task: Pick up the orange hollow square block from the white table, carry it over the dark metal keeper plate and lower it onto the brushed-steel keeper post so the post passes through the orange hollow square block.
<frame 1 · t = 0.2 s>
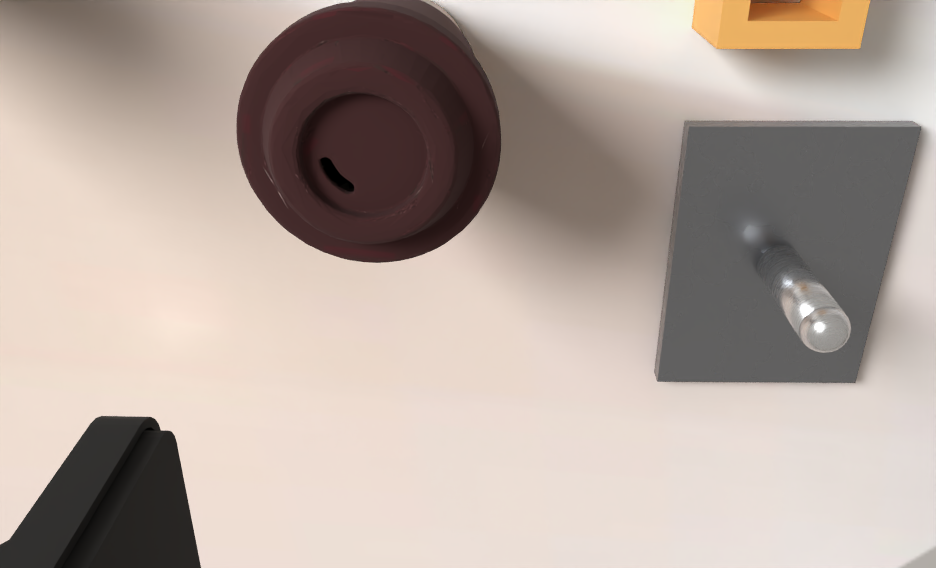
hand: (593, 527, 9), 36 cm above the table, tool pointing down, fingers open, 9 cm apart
coffee cup: (401, 63, 43), on the table
keeper: (772, 256, 47), on the table
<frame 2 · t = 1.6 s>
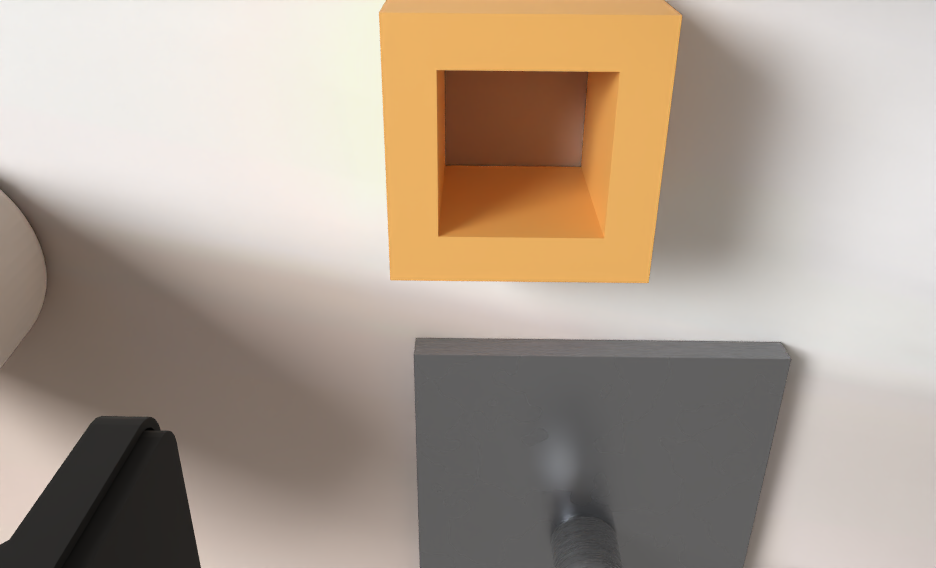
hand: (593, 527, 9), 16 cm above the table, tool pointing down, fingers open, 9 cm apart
orange hollow square block: (515, 99, 23), on the table
keeper: (580, 521, 31), on the table
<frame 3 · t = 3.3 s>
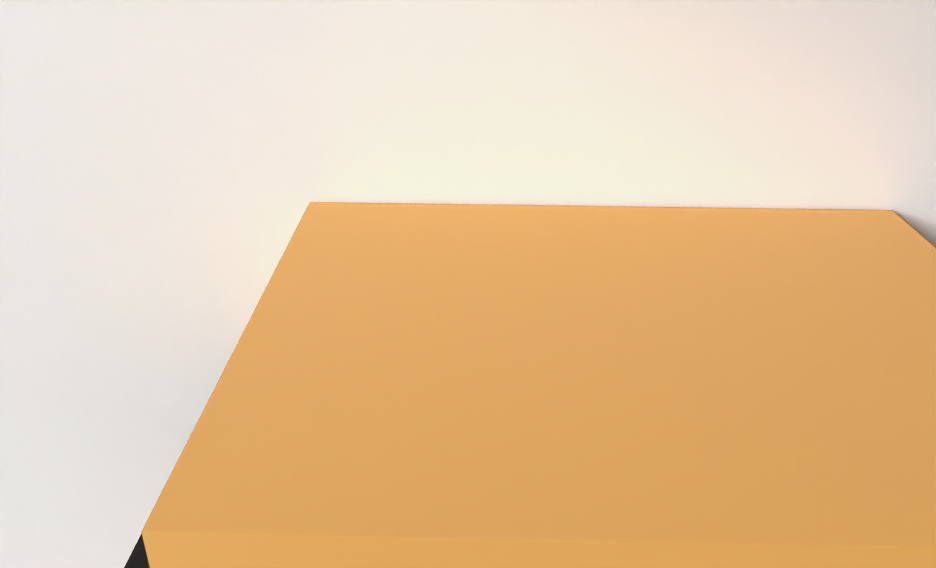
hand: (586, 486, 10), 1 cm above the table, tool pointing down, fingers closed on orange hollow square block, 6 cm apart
orange hollow square block: (579, 439, 11), on the table, touching gripper
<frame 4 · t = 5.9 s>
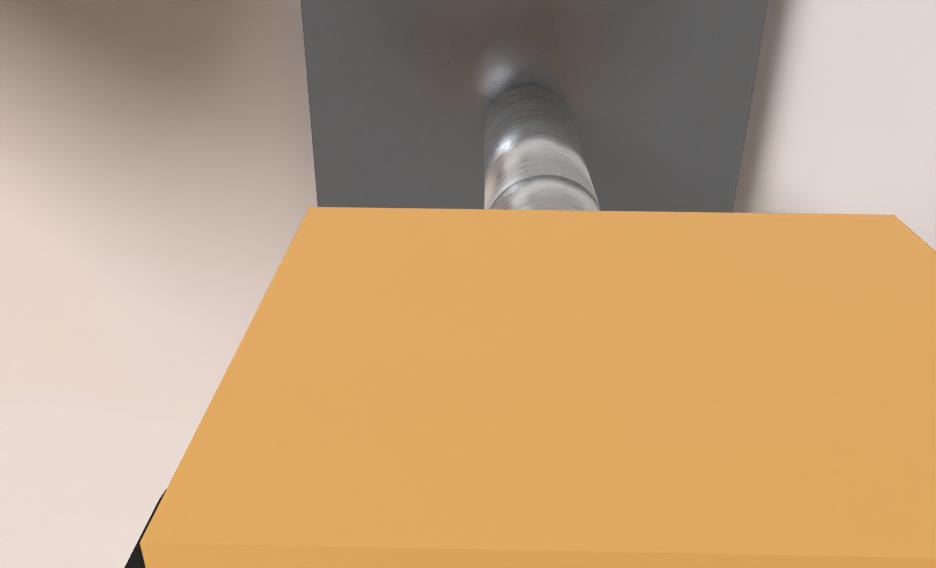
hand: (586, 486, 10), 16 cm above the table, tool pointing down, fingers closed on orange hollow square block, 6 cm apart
orange hollow square block: (579, 443, 10), point 15 cm above the table, touching gripper
keeper: (526, 118, 24), on the table
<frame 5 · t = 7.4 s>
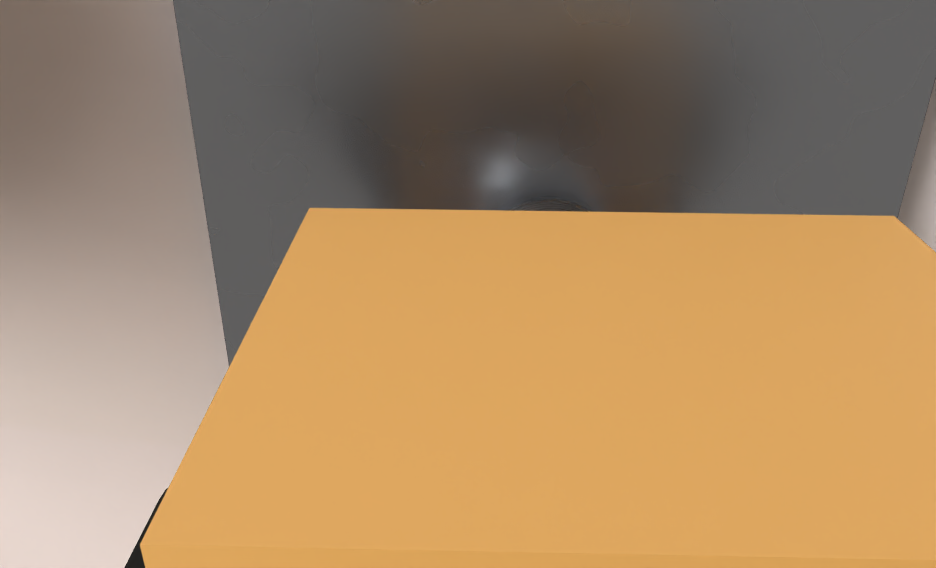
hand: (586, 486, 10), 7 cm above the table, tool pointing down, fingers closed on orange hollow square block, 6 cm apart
orange hollow square block: (579, 444, 10), point 6 cm above the table, touching gripper
keeper: (543, 238, 16), on the table
when the fingers open (4 cm above the table, at t = 8.4 s): orange hollow square block drops 2 cm, resting on keeper.
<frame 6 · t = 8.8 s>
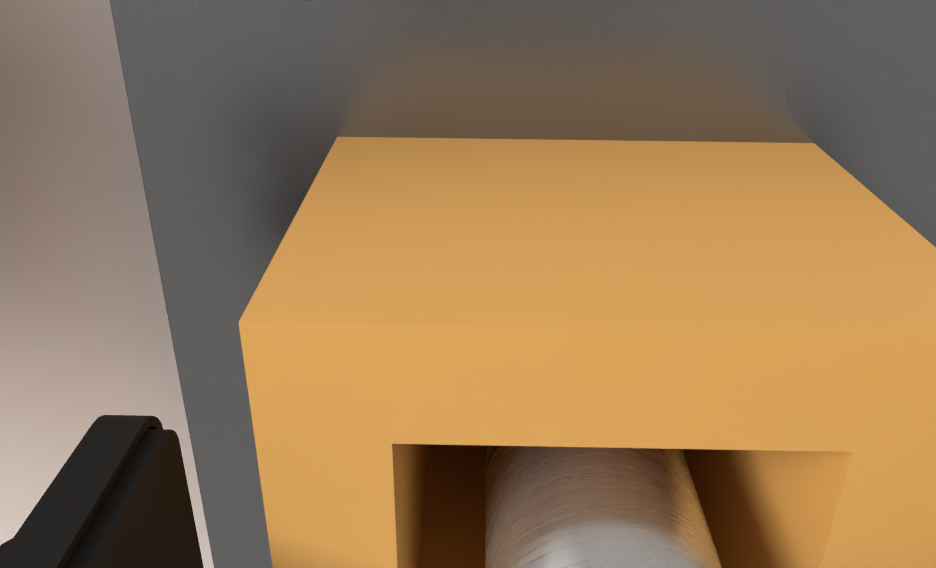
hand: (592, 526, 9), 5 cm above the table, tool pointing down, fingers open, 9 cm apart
orange hollow square block: (560, 343, 12), point 1 cm above the table, touching keeper
keeper: (558, 315, 13), on the table
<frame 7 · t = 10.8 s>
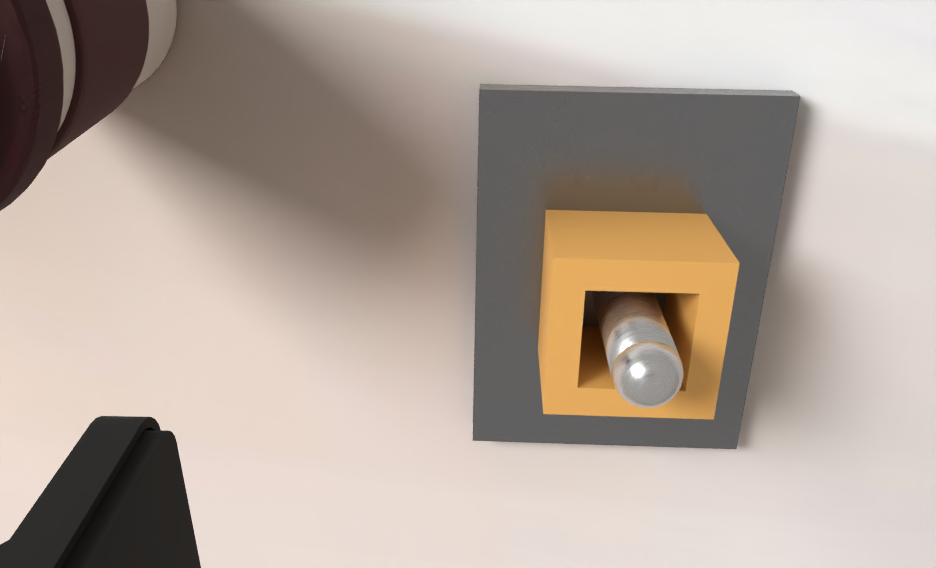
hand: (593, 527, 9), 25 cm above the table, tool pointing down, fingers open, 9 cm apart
orange hollow square block: (618, 284, 34), point 1 cm above the table, touching keeper
keeper: (616, 276, 35), on the table
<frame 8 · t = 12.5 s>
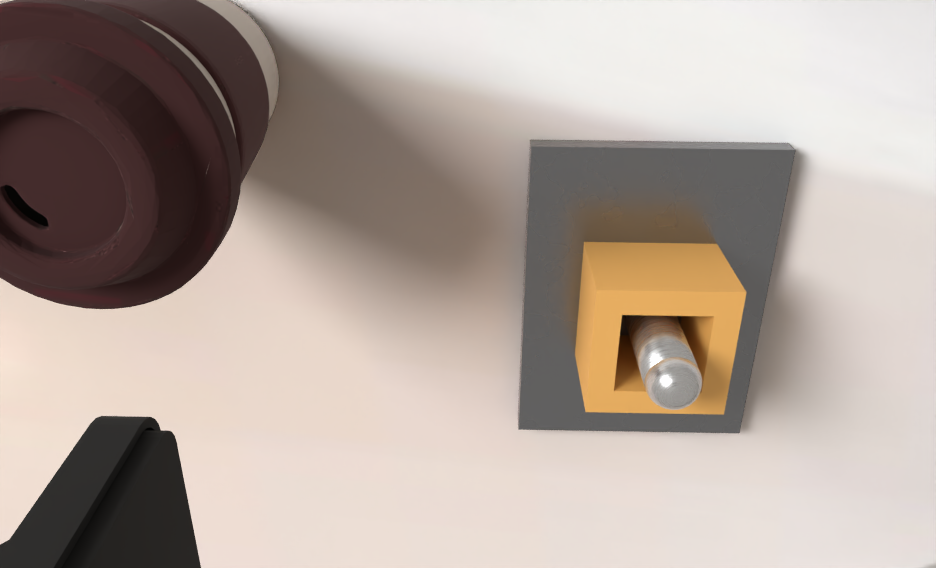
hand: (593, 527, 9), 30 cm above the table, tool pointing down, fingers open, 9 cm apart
orange hollow square block: (643, 301, 41), point 1 cm above the table, touching keeper
coffee cup: (202, 70, 37), on the table
keeper: (640, 293, 42), on the table
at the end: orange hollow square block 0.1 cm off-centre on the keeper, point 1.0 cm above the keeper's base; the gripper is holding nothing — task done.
